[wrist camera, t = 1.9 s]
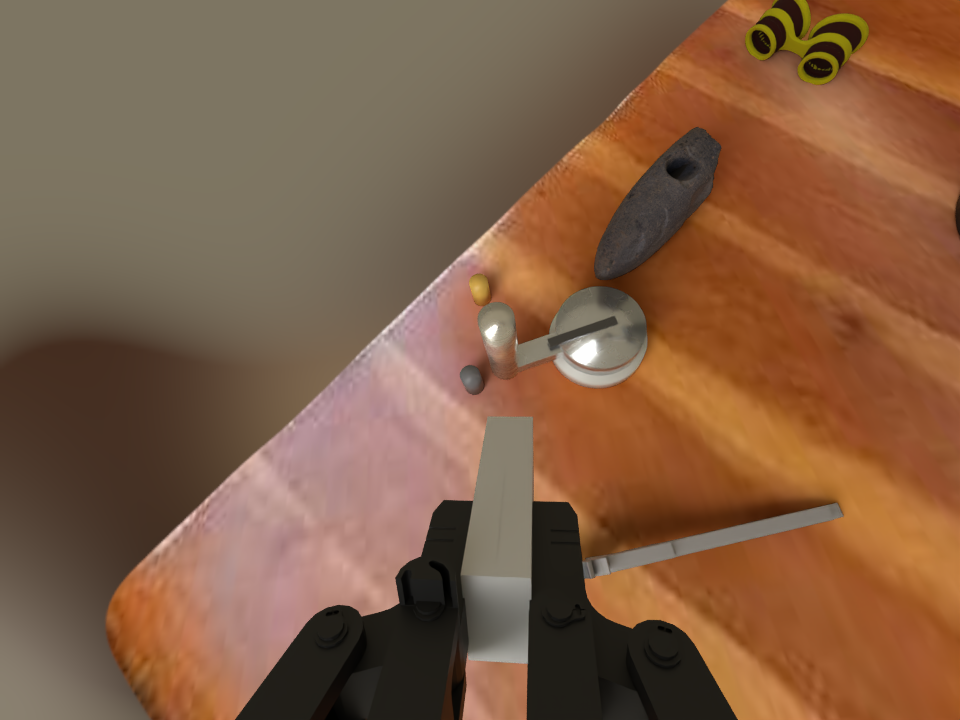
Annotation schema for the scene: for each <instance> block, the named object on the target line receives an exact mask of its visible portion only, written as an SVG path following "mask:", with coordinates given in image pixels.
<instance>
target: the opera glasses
mask: <svg viewBox="0 0 960 720" xmlns="http://www.w3.org/2000/svg"><path fill="white" fill-rule="evenodd" d="M810 23H811V15H810V9H809V6H808V4H807V2H806V0H774V2H773V4H772V8H771V9H769V10H767V11H766V12H765V13H764V14H763V16H762V17H761V18H760V20H759V21H758V22H757V23H756V25H755V26H753V27H752V28H750V29H749V30H748V32H747V33H746V37H745V44H746V47H747V50H748V51H749V53H750V54H751V55H753V56H754V57H756V58H757V59H759V60H766V59H768V58H769V57H770V56H772V55H773V53H775V52H777V51H779V50H789V51H792V52H794V53H796V54H798V55H799V56H800V57H801V58H802V61H801V62H800V64H799V66H798V75H799V77H800V78H801V79H802V80H803V81H806V82H809V83H812V84H815V85H821V84H825V83H827V82H829V81H831V80H832V79H833V78H834V77H835V75H836V74H837V72H838V70H839V69H840V67H842V66H843V65H844V64H845V63H846V61H847V60H848V59H849V58H850V56H851V54H853V53H855V52H856V51H857V50H858V49H860V48H861V47H862V46H863V44H864V43H865V41H866V40H867V37H868V33H869V29H868V25H867V23H866V22H865V21H864V20H863V19H862V18H860V17H859V16H856V15H853V14H837V15H832V16H829V17H827V18H825V19H823V20H822V21H820V22H819V23H817V24H816V25H815V26H814V28H813V29H812V30H811V32H810V34H809V37H808V40H807V41H803V40H801V39H802V38H803V37H804V36H805V35H806V34H807V32H808V30H809V27H810Z"/></svg>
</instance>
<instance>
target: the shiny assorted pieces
mask: <svg viewBox="0 0 960 720" xmlns="http://www.w3.org/2000/svg"><path fill="white" fill-rule="evenodd" d="M469 285H470V288H471V292H472V295H473V299H474V302H475V303H476V304H477V305H479V306H485V305H487V304H488V303H489V302H490V301H491V294H490V289H489V285H488V280H487V278H486V276H484V275H483V274H475V275H473V276H472V277H471V278H470V281H469ZM558 312H559V311H558ZM557 314H558V313H557ZM557 314H556V315H555V317H554V319H553V321H552V323H551V326H550V330H549V334H551V333H554V332H555V325H556V318H557ZM646 349H647V331H646V337H645V340H644V343H643V345H642V347H641V349H640V351H639V353H638V355H637V357H636V358H635V359H634V361H633V362H632V363H631V364H630V365H629V366H628V367H626V368H625V369H623V370H622V371H620V372H617V373H615V374H611V375H606V376H594V375H588V374H585V373H582V372H580V371H578V370H576V369H574V368H573V367H571V366H570V365H569V364H568V363H567V362H566V361H565V360H564V359H563V358H559V359H556V360H553V363H554V365H555V366H556V368H557V369H558V370H559V372H560V373H561V374H562V375H563V376H565V377H566V378H567V379H569V380H570V381H572V382H574V383H576V384H578V385H580V386H583V387H588V388H608V387H612V386H615V385H618V384H620V383H622V382H624V381H625V380H627V379H628V378H629V377H630V376H631V375H632V374H633V373H634V372H635V371H636V370H637V368H638V367H639V365H640V363H641V361H642V359H643V357H644V355H645V352H646ZM460 378H461V380H462V382H463V384H464V386H465V388H466V390H467V392H468V393H470V394H472V395H477V394H479V393H481V392H482V390H483V388H484V383H483V380H482V377H481V375H480V372H479V370H478V368H477V367H475V366H473V365H468V366H465V367H464V368H463V369H462V370H461V372H460Z"/></svg>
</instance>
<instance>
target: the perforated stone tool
mask: <svg viewBox="0 0 960 720" xmlns="http://www.w3.org/2000/svg"><path fill="white" fill-rule="evenodd" d="M720 151H721V145H720V144H719V143H718V142H717V141H716V140H715V139H713V138H711V136H710V135H709V134H708V133H707V132H706V130H704V129H702V128H699V127H696V128H693V129H692V130H690V131H689V132H688V133H687V134H685V135H684V136H683V137H682V138H680V139H679V140H678V141H677V142H675V143H674V144H673V145H672V146H671V147H670V148H669V149H668V150H667V151H666V152H665V153H664V154H663V155H661V156H660V158H658V160H657V161H656V162H655V163H654V164H653V165H652V166H651V167H650V168H649V169H648V170H647V172H646V173H645V174H644V175H643V176H642V177H641V178H640V179H639V180H638V182H637V183H636V184H635V185H634V186H633V188H632V189H631V190H630V192H629V193H628V194H627V196H626V197H625V199H624V200H623V201H622V203H621V204H620V206H619V207H618V209H617V211H616V212H615V214H614V216H613V217H612V219H611V221H610V223H609V225H608V227H607V229H606V231H605V233H604V234H603V236H602V239H601V241H600V243H599V246H598V250H597V253H596V257H595V263H594V264H595V265H594V271H595V275H596V278H598V279H600V280H610V279H613V278H617V277H619V276H622V275H624V274H626V273H628V272H629V271H631V270H633V269H635V268H636V267H638V266H639V265H641V264H642V263H643V262H645V261H646V260H647V259H648V258H649V257H651V256H652V255H653V254H654V253H655V252H656V251H657V250H659V249H660V248H661V247H662V246H663V245H664V244H665V243H666V242H667V241H668V240H669V239H670V238H671V237H672V236H673V235H674V234H675V233H676V232H677V231H678V230H679V229H680V227H681V226H682V225H683V223H684V221H685V220H686V219H687V218H688V217H690V216H691V215H692V213H694V212H695V211H696V209H697V208H698V207H699V206H700V205H701V204H702V203H703V201H704V200H705V199H706V198H707V197H708V195H709V194H710V193H711V190H712V188H713V179H714V172H715V169H716V166H717V164H718V157H719V153H720Z"/></svg>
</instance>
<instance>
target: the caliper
mask: <svg viewBox="0 0 960 720" xmlns="http://www.w3.org/2000/svg"><path fill="white" fill-rule="evenodd" d="M840 517H844V516H843V514H842V512H841V510H840V507H839V505H838V503H833V504H829V505H825V506H820V507H815V508H811V509H806V510H802V511H797V512H793V513H788V514H784V515H780V516H775V517H771V518H767V519H762V520H758V521H754V522H749V523H745V524H741V525H736V526H732V527H728V528H723V529H719V530H715V531H710V532H706V533H702V534H697V535H693V536H688V537H684V538H680V539H675V540H671V541H667V542H662V543H657V544H651V545H647V546H643V547H639V548H634V549H630V550H626V551H622V552H618V553H614V554H607V555H601V556H595V557H589V558H585V559H586V560H584V561H582V563H583V572H584V579H585V578H590V579H592V578H595V576H601V575H608V574H611V572H616V571H620V570H624V569H628V568H633V567H637V566H641V565H645V564H650V563H654V562H658V561H662V560H666V559H671V558H675V557H677V556H681V555H685V554H690V553H694V552H698V551H702V550H707V549H711V548H715V547H720V546H724V545H728V544H732V543H737V542H741V541H745V540H749V539H754V538H758V537H762V536H766V535H771V534H775V533H779V532H783V531H788V530H792V529H796V528H800V527H805V526H809V525H813V524H817V523H822V522H826V521H830V520H834V519H836V518H840Z"/></svg>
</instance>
